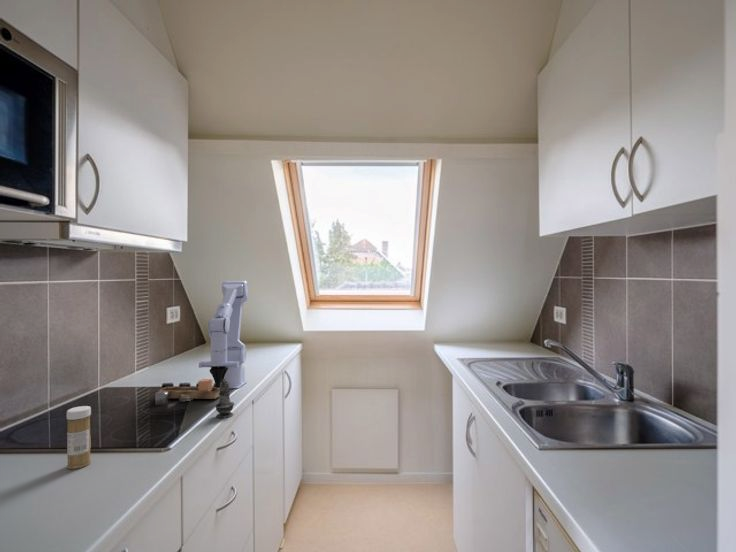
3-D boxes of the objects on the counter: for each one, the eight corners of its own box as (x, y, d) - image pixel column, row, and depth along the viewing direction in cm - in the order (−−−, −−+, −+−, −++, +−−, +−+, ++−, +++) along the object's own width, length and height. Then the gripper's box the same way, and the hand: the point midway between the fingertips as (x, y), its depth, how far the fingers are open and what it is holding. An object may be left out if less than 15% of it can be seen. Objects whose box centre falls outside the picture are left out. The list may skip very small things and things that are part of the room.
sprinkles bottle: (92, 459, 92) (92, 404, 92) (88, 467, 88) (88, 409, 88) (69, 463, 90) (69, 406, 90) (63, 472, 86) (64, 412, 86)
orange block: (198, 392, 138) (198, 381, 138) (203, 389, 142) (203, 378, 142) (208, 392, 138) (208, 381, 138) (212, 389, 141) (212, 378, 141)
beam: (155, 401, 137) (155, 391, 137) (166, 395, 144) (166, 386, 144) (214, 401, 136) (214, 392, 136) (222, 396, 143) (222, 386, 143)
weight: (159, 401, 137) (159, 390, 137) (170, 402, 136) (170, 390, 136) (152, 405, 133) (152, 394, 133) (163, 405, 132) (163, 394, 132)
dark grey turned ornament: (237, 412, 124) (237, 376, 125) (229, 419, 119) (229, 380, 119) (220, 412, 125) (220, 376, 125) (211, 418, 119) (211, 380, 119)
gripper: (194, 352, 136) (194, 389, 136) (233, 352, 135) (233, 390, 135) (204, 348, 143) (204, 384, 143) (241, 348, 142) (241, 384, 142)
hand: (219, 386), depth 139 cm, fingers closed
